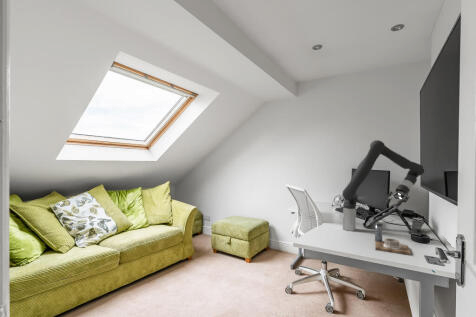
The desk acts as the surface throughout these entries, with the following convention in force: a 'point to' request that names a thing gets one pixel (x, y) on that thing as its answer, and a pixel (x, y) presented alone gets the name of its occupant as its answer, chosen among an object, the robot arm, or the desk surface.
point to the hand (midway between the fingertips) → (391, 204)
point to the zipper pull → (416, 227)
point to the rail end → (378, 232)
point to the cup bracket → (392, 246)
